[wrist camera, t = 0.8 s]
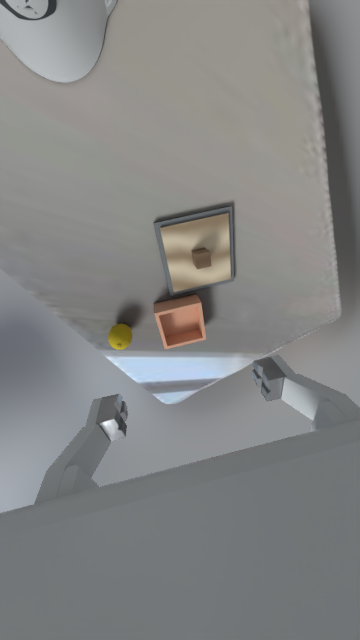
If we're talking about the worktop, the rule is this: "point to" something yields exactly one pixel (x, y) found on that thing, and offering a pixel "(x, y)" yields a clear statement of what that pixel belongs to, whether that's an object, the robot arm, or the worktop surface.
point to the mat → (186, 219)
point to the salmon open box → (180, 321)
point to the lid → (198, 251)
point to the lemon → (120, 336)
